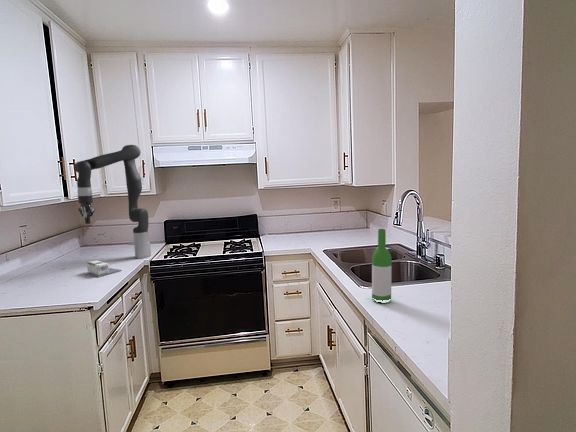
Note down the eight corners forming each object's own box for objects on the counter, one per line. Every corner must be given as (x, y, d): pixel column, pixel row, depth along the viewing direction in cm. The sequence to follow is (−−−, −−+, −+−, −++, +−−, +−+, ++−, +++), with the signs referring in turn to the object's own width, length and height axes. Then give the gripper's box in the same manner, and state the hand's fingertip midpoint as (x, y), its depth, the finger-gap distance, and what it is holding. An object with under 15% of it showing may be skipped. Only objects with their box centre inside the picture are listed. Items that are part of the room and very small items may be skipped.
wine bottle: (395, 302, 141) (396, 229, 137) (379, 305, 138) (379, 231, 135) (383, 296, 148) (383, 227, 145) (368, 299, 145) (368, 228, 142)
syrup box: (96, 259, 204) (108, 262, 195) (97, 269, 204) (109, 272, 195) (86, 261, 199) (97, 265, 190) (87, 271, 200) (98, 275, 191)
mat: (108, 268, 207) (108, 267, 207) (121, 270, 201) (121, 269, 201) (85, 274, 195) (85, 273, 195) (98, 277, 189) (98, 276, 189)
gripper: (97, 194, 207) (100, 223, 209) (84, 194, 213) (87, 222, 215) (85, 195, 200) (88, 225, 202) (72, 195, 206) (75, 224, 208)
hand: (87, 223), depth 208 cm, fingers closed
